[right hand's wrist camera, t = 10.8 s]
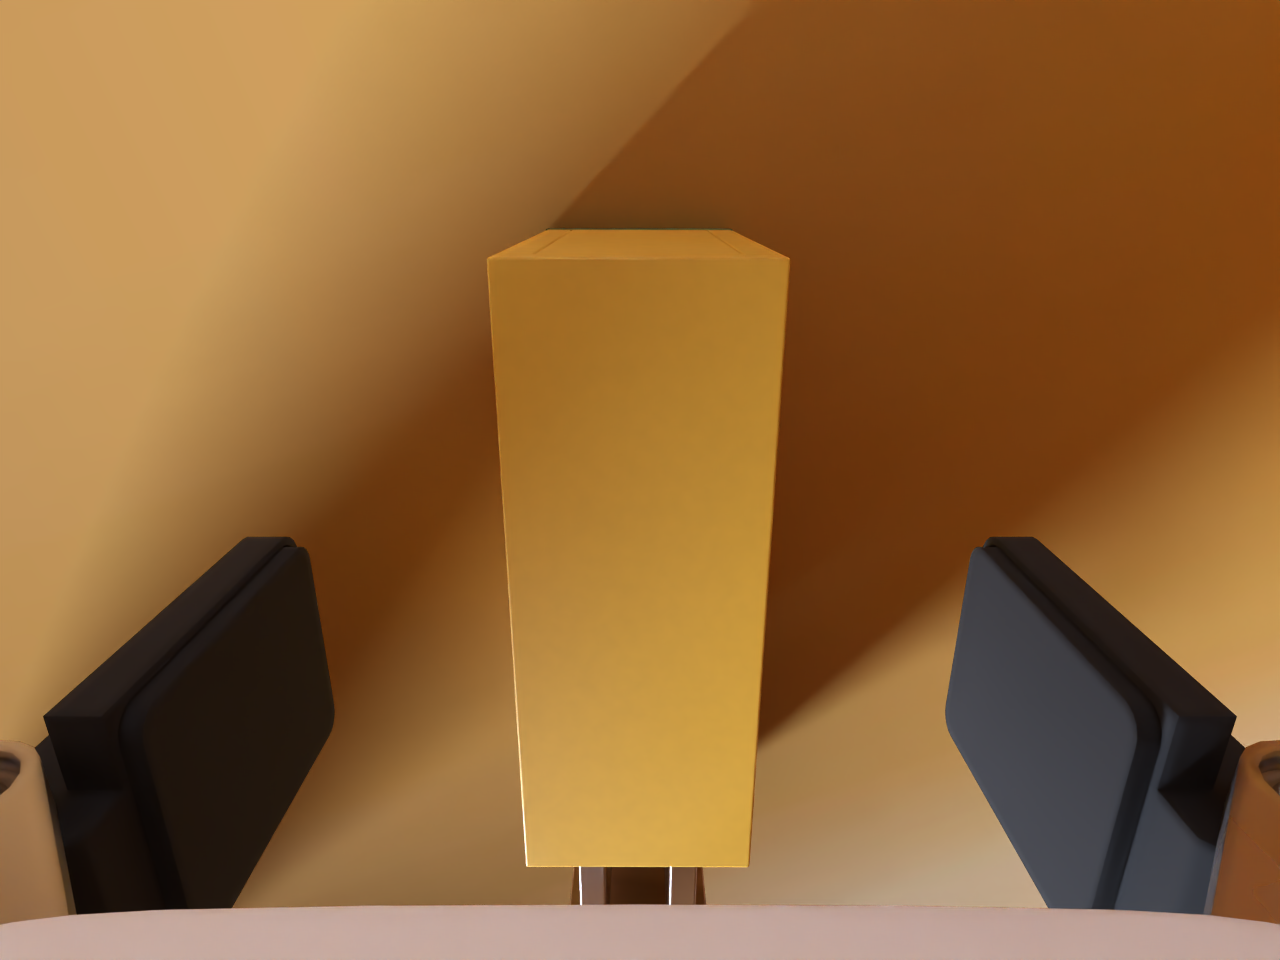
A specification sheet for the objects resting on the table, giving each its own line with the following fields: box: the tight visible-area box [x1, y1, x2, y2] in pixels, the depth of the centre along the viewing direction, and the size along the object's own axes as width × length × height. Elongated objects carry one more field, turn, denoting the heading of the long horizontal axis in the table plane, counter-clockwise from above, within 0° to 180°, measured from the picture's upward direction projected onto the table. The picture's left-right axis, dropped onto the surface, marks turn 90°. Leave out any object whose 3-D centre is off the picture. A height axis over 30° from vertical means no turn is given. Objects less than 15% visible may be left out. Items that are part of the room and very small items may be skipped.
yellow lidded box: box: [487, 228, 790, 867], centre depth 24 cm, size 16×6×12 cm, turn 0°
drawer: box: [570, 867, 706, 905], centre depth 28 cm, size 21×5×10 cm, turn 0°
